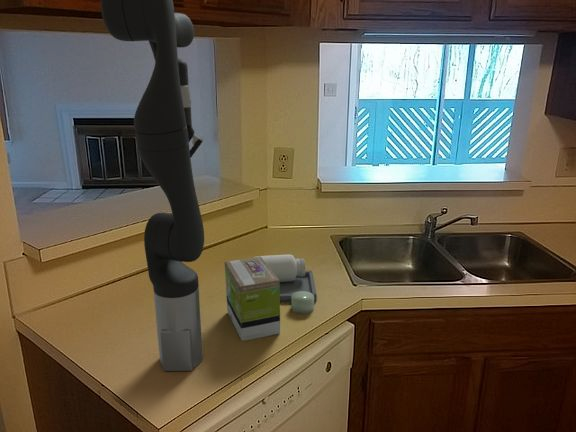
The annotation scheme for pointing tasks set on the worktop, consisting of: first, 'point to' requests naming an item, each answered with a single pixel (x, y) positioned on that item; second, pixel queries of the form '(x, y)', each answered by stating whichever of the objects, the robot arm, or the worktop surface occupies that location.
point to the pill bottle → (285, 266)
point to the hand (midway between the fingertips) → (179, 176)
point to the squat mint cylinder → (302, 302)
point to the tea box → (253, 298)
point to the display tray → (298, 287)
